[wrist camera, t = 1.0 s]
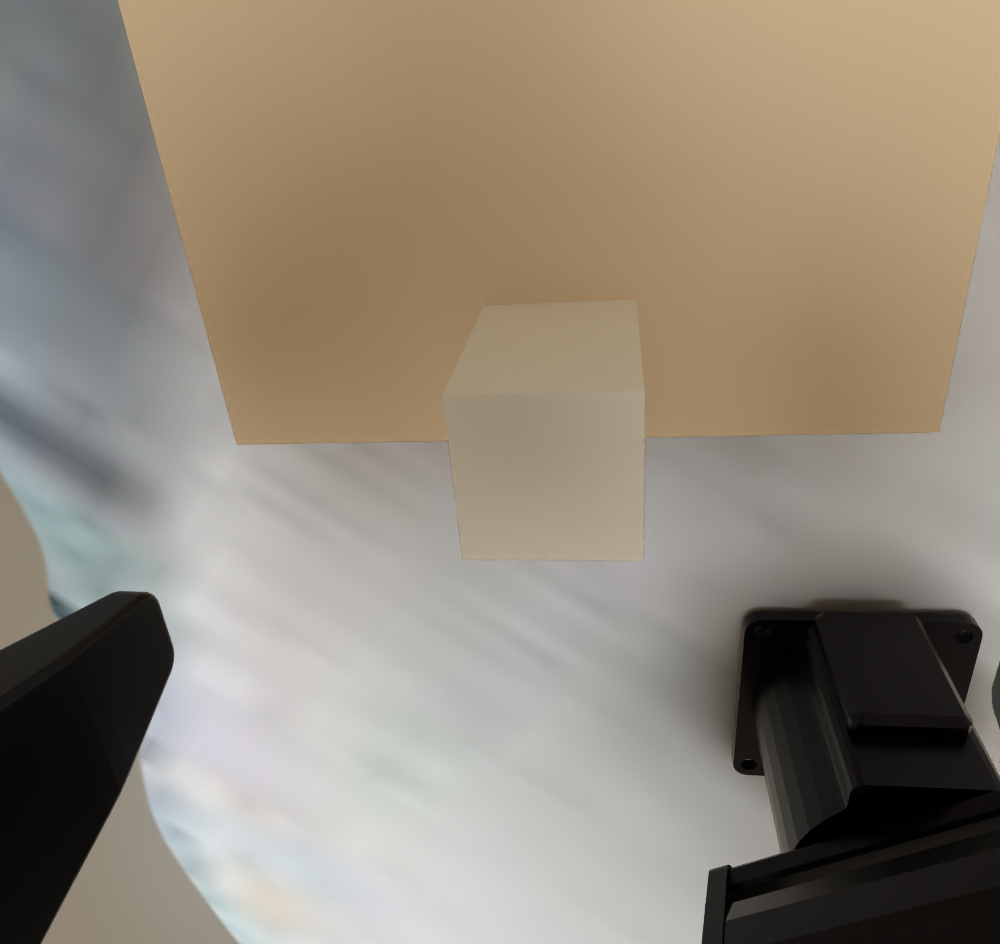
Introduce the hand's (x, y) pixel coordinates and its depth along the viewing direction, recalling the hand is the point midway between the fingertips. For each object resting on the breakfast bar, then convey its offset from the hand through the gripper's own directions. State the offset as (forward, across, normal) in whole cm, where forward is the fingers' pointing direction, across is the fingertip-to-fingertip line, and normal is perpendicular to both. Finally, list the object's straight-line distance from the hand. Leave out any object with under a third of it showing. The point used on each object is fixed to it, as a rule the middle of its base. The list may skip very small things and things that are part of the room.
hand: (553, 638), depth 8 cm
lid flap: (+9, +1, -4) cm, 10 cm away
